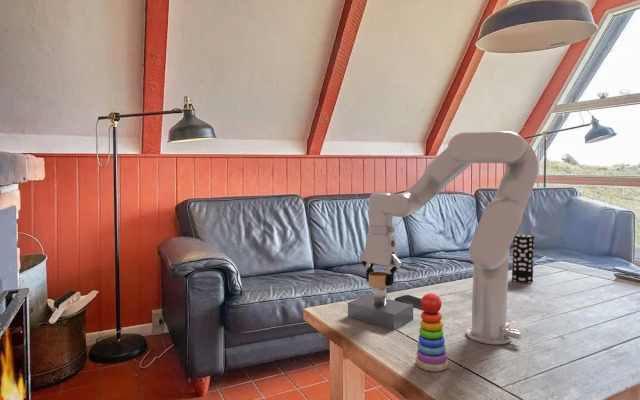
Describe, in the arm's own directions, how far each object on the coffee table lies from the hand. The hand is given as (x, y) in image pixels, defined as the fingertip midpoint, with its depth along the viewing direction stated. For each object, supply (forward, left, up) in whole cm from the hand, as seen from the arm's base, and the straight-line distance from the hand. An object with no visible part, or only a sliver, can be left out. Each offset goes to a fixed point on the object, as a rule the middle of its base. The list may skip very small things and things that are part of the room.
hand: (379, 282), depth 144 cm
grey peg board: (0, 0, -12) cm, 12 cm away
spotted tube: (-21, -80, -12) cm, 84 cm away
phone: (-1, -22, -13) cm, 26 cm away
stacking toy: (-29, +20, -12) cm, 37 cm away
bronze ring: (0, 0, -1) cm, 1 cm away
